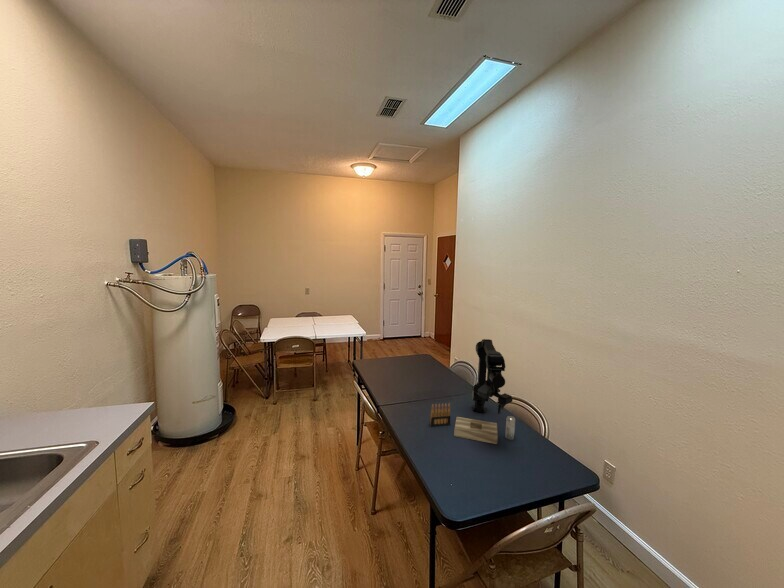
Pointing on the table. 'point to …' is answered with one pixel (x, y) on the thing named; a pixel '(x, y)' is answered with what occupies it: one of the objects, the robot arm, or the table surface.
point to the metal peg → (510, 427)
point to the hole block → (476, 430)
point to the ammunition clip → (440, 415)
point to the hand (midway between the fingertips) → (490, 409)
